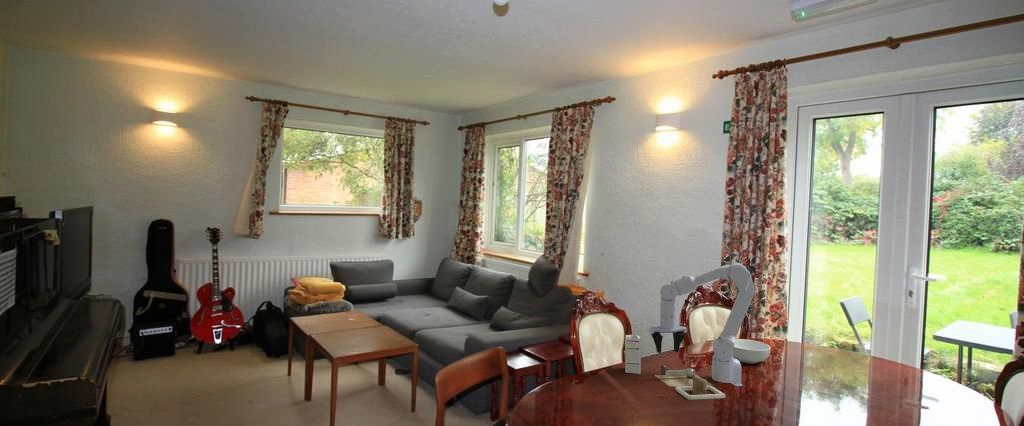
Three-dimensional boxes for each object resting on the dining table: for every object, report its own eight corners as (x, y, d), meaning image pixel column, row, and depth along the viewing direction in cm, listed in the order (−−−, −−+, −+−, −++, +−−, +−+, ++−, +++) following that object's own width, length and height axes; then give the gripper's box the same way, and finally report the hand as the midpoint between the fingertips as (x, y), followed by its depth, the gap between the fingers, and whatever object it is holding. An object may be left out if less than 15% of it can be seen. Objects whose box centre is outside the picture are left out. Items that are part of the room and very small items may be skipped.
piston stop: (701, 393, 169) (702, 377, 169) (709, 398, 164) (709, 382, 164) (689, 394, 168) (690, 378, 168) (697, 399, 164) (697, 382, 164)
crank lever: (692, 374, 184) (692, 363, 184) (696, 377, 181) (696, 366, 181) (658, 375, 182) (659, 364, 182) (662, 378, 179) (663, 367, 179)
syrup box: (641, 377, 186) (641, 338, 186) (624, 376, 187) (625, 337, 187) (640, 372, 191) (640, 335, 191) (624, 371, 193) (625, 334, 193)
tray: (710, 392, 171) (710, 385, 171) (725, 402, 163) (725, 394, 163) (675, 394, 169) (675, 386, 169) (688, 404, 161) (688, 396, 161)
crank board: (694, 377, 187) (694, 372, 187) (712, 389, 175) (712, 383, 175) (654, 379, 184) (654, 374, 184) (669, 390, 172) (669, 385, 172)
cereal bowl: (717, 357, 214) (717, 341, 214) (744, 353, 221) (744, 337, 221) (751, 369, 198) (751, 351, 198) (779, 364, 205) (779, 347, 205)
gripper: (655, 318, 182) (654, 355, 182) (691, 317, 184) (690, 354, 184) (646, 314, 189) (645, 350, 189) (681, 313, 191) (680, 349, 191)
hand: (667, 352), depth 187 cm, fingers open, 6 cm apart
